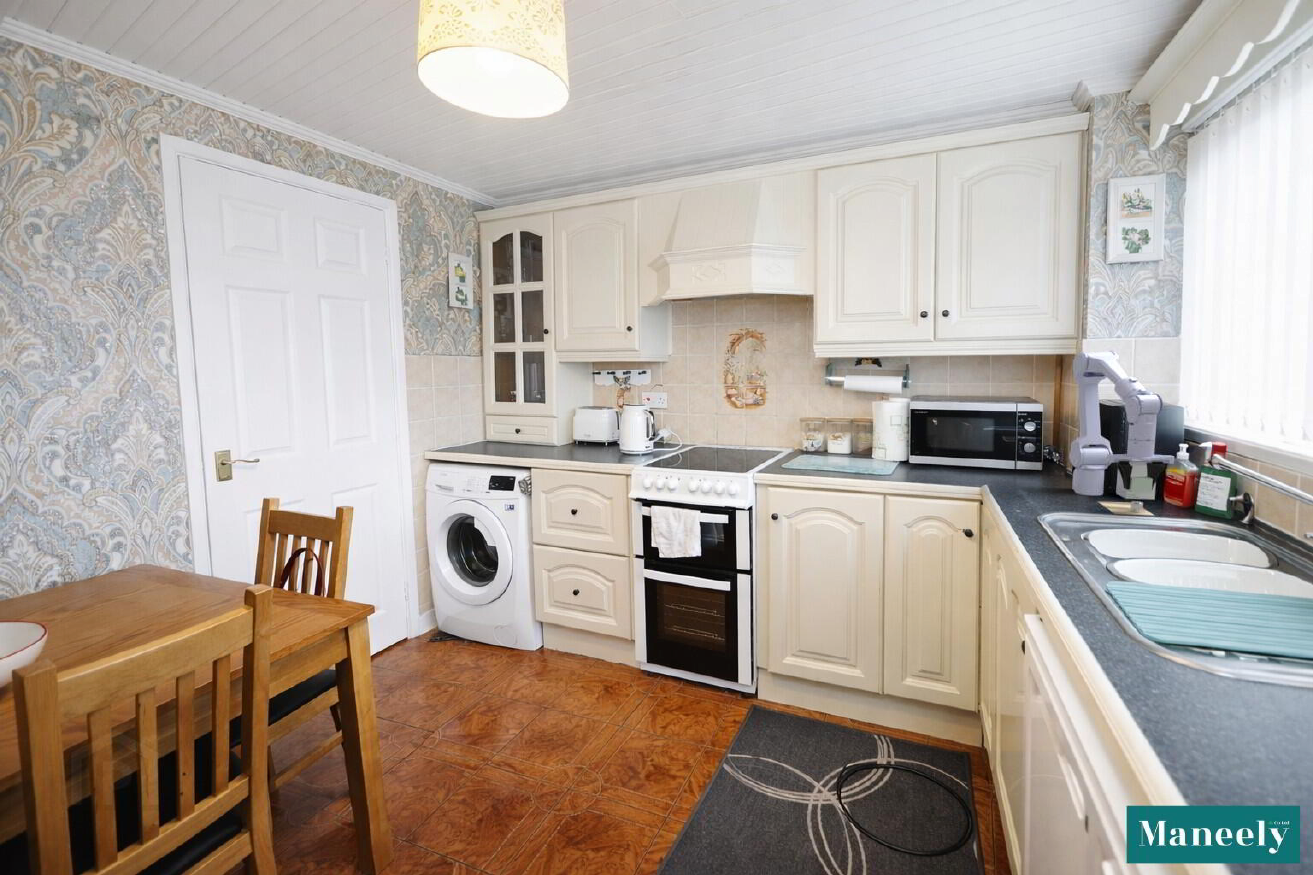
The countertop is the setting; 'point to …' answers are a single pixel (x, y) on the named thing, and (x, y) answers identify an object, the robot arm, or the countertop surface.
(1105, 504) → the board
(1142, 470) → the supplement box
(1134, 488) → the pale green block
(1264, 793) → the countertop surface
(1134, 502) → the silver knob
